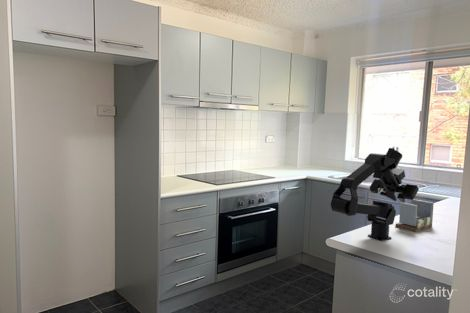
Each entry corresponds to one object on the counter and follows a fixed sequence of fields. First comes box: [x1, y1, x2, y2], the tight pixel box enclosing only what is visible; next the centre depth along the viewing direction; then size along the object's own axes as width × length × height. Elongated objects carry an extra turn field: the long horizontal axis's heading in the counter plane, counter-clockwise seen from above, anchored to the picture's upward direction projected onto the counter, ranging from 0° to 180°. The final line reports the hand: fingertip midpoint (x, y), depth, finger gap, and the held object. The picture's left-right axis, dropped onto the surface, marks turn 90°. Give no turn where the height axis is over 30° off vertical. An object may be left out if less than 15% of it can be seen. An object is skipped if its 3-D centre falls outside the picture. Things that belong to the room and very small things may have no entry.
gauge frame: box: [395, 217, 433, 233], centre depth 159 cm, size 14×9×5 cm, turn 126°
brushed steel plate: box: [410, 198, 434, 225], centre depth 162 cm, size 2×9×10 cm, turn 36°
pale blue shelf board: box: [398, 201, 424, 226], centre depth 155 cm, size 4×9×9 cm, turn 36°
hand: (399, 201), depth 150 cm, fingers open, 3 cm apart
